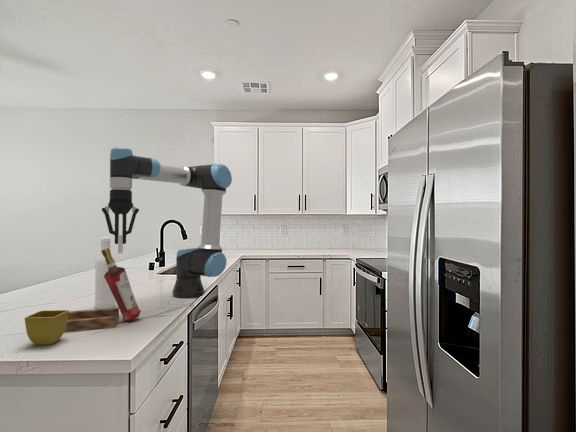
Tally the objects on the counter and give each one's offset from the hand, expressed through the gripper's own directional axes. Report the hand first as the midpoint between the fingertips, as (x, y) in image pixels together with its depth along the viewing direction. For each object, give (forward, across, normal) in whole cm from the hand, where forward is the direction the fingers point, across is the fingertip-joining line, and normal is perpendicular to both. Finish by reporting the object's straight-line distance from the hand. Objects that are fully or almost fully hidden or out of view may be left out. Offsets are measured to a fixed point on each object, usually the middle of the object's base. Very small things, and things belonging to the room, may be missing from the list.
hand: (120, 252), depth 136 cm
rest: (+26, +13, 0) cm, 29 cm away
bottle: (+26, +7, -25) cm, 37 cm away
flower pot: (+26, +19, +17) cm, 36 cm away
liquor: (+25, -5, 0) cm, 25 cm away
